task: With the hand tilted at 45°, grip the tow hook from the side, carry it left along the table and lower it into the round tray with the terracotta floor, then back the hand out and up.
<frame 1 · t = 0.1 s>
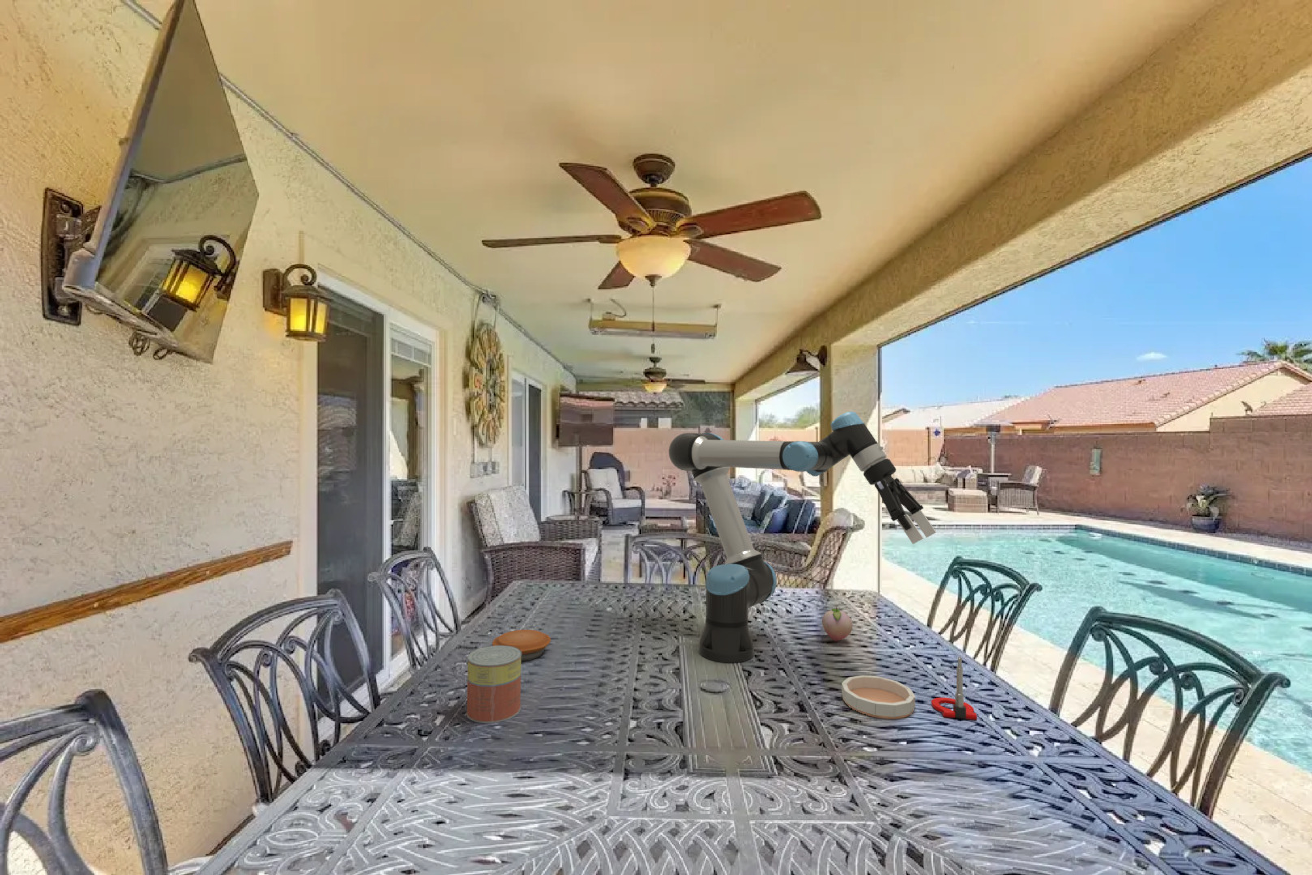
hand: (925, 538, 141), 36 cm above the table, tool tilted 35°, fingers open, 13 cm apart
tow hook: (952, 711, 128), on the table
canned food: (493, 711, 124), on the table
round tray: (877, 703, 130), on the table
pie: (521, 654, 157), on the table
decorative fruit: (837, 641, 170), on the table
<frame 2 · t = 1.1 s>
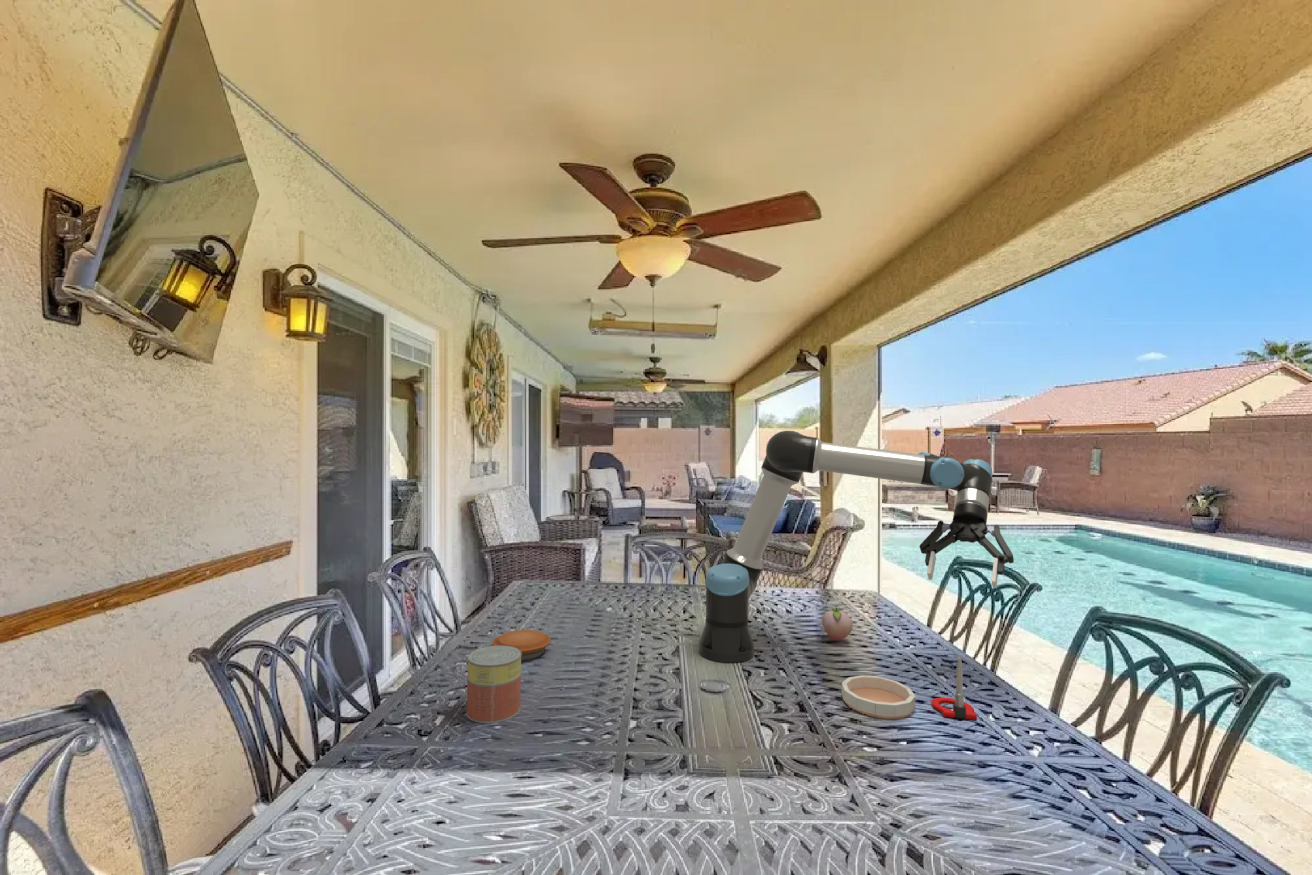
hand: (960, 580, 136), 27 cm above the table, tool tilted 45°, fingers open, 13 cm apart
nothing on the table moved.
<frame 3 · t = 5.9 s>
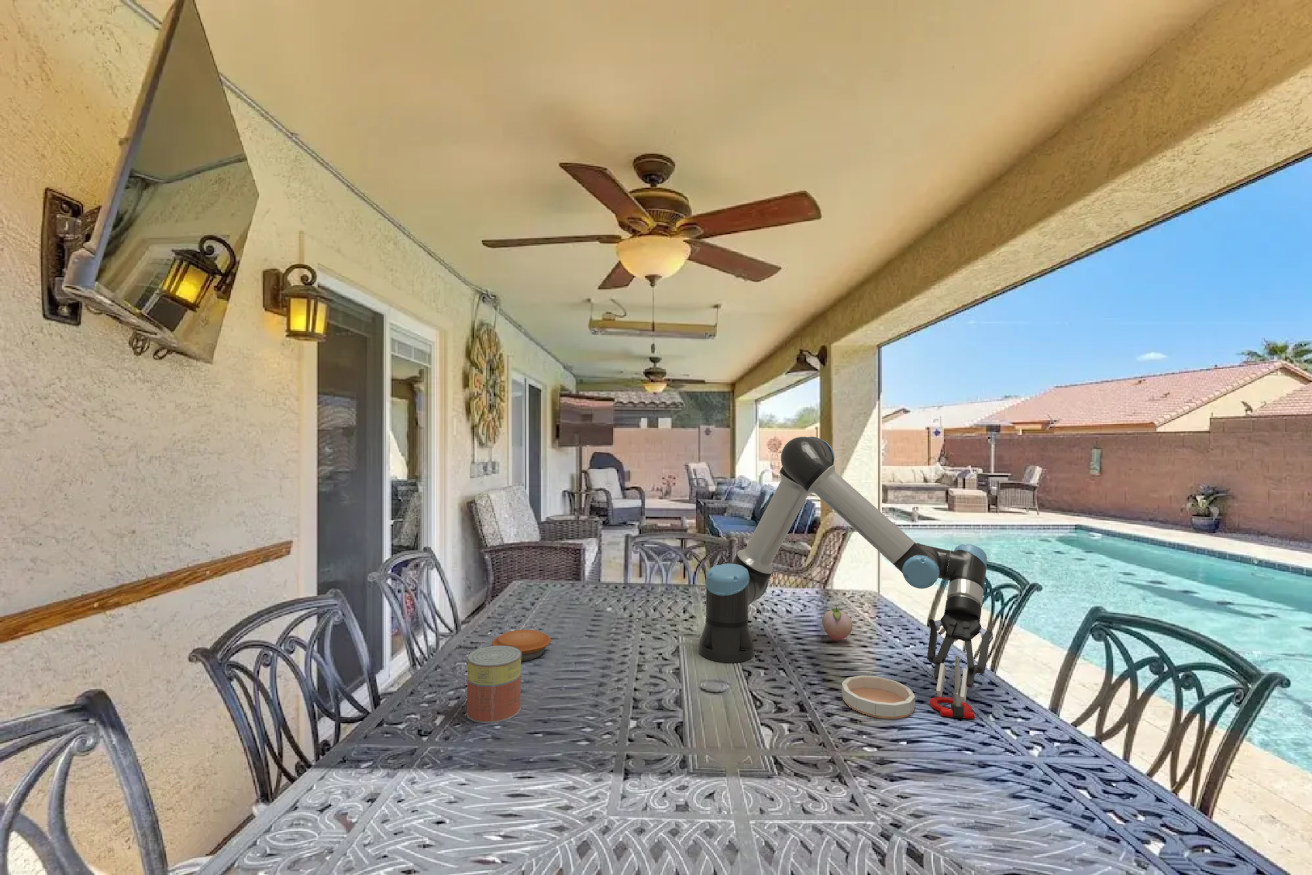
hand: (950, 696, 125), 4 cm above the table, tool tilted 45°, fingers open, 4 cm apart
tow hook: (951, 710, 128), on the table, touching gripper
everything else where it was.
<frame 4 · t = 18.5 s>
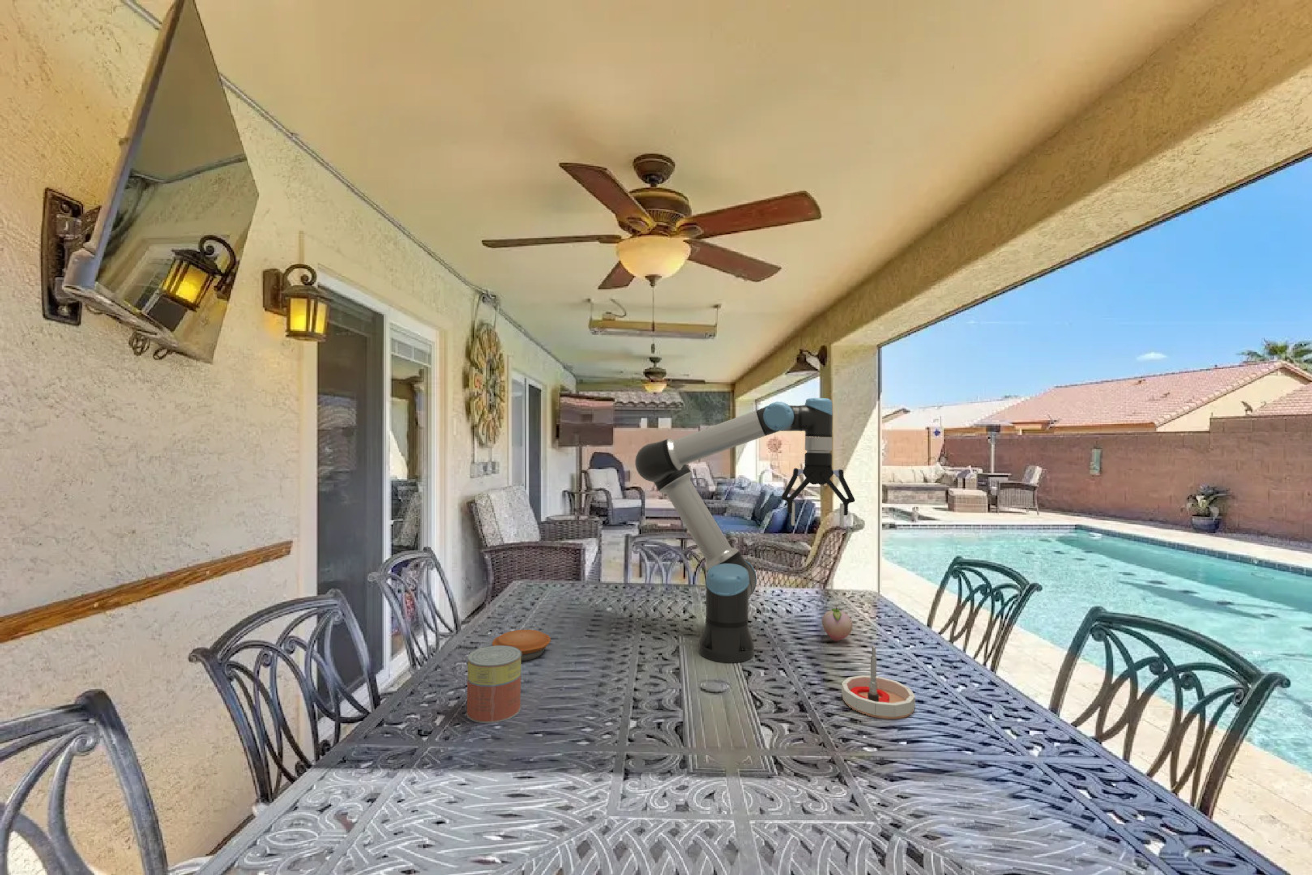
hand: (817, 525, 166), 35 cm above the table, tool pointing down, fingers open, 13 cm apart
tow hook: (869, 699, 131), resting on round tray
everything else where it was.
at the end: tow hook 1.7 cm off-centre on the round tray, point 0.4 cm above the round tray's base; tow hook tilted 0°; the gripper is holding nothing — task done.
